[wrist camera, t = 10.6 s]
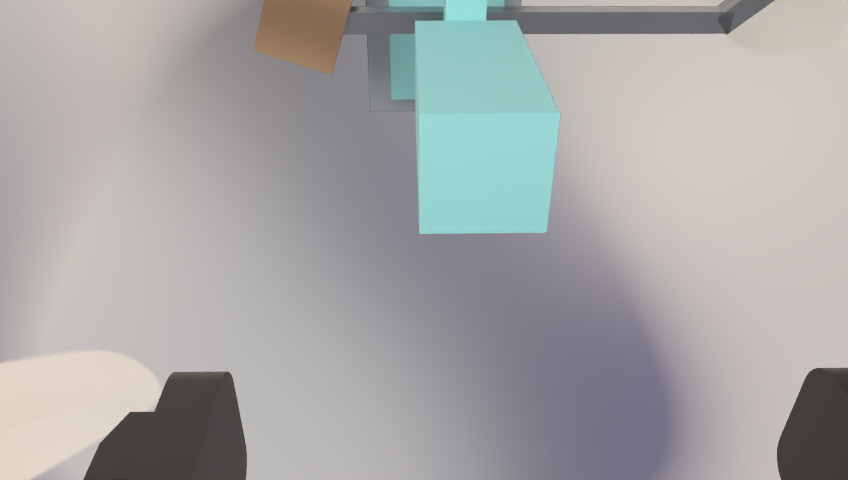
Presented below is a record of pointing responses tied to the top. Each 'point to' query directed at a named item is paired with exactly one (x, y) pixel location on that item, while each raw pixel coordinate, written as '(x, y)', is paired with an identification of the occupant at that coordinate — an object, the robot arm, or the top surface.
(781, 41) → the top surface
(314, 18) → the wood grain block
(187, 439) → the robot arm
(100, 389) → the top surface
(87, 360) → the top surface
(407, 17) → the wire
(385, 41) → the pad
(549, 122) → the turquoise frame with handle
